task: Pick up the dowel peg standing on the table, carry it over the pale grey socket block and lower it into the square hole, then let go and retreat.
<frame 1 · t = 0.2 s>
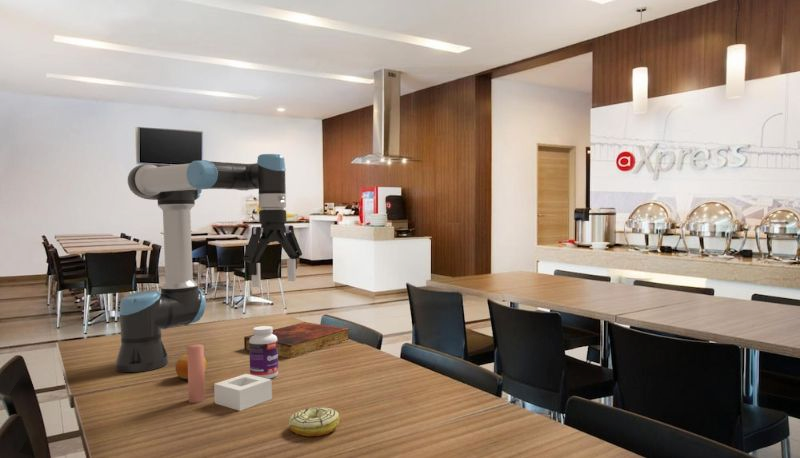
hand: (274, 283, 155), 28 cm above the table, fingers open, 13 cm apart
decorated donut: (314, 430, 120), on the table
fruit: (191, 378, 160), on the table
peg: (197, 400, 140), on the table
socket block: (243, 401, 139), on the table
pill bottle: (264, 377, 159), on the table
book: (298, 346, 198), on the table
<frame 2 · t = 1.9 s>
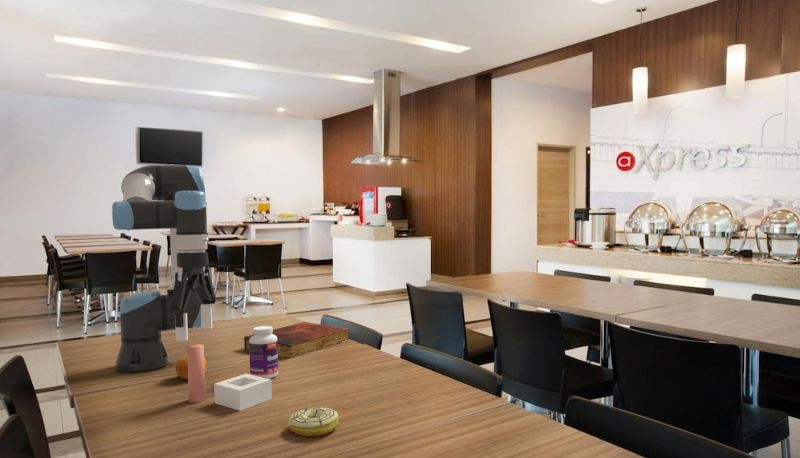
hand: (195, 334, 139), 17 cm above the table, fingers open, 13 cm apart
nothing on the table moved.
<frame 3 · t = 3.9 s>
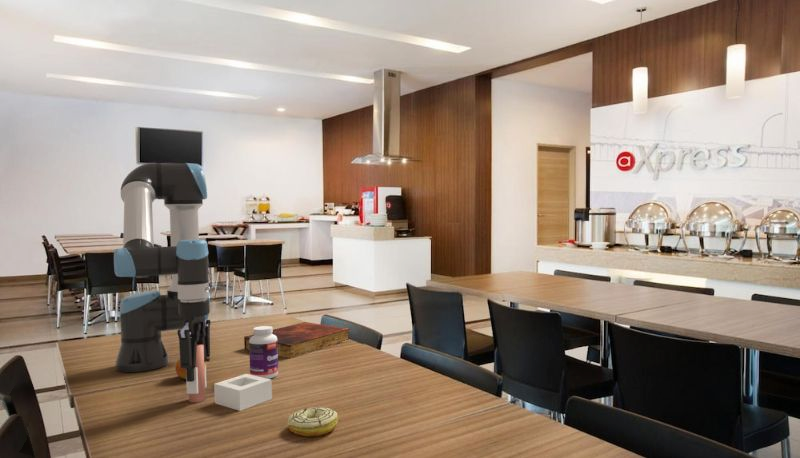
hand: (196, 390, 140), 3 cm above the table, fingers closed on peg, 4 cm apart
peg: (197, 399, 140), on the table, touching gripper
everything else where it was.
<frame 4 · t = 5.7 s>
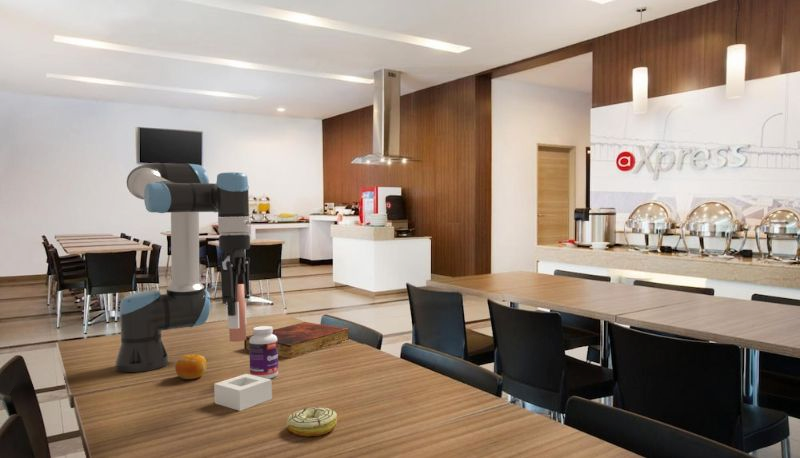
hand: (237, 326, 138), 19 cm above the table, fingers closed on peg, 4 cm apart
peg: (237, 339, 138), point 16 cm above the table, touching gripper
everything else where it was.
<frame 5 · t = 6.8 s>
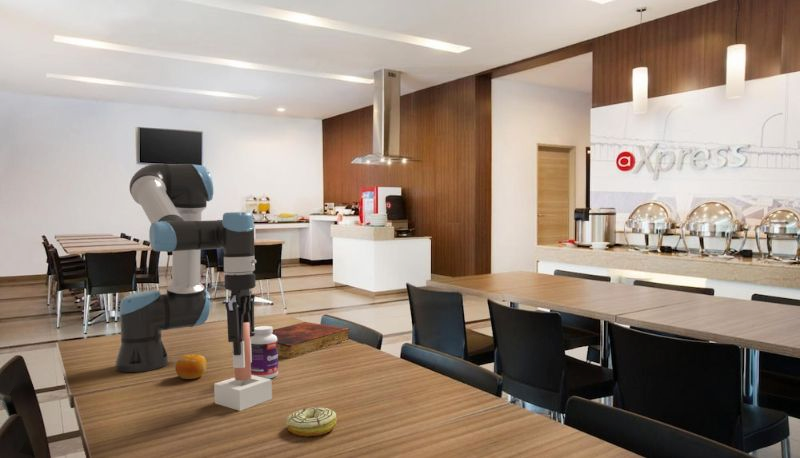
hand: (242, 364, 138), 9 cm above the table, fingers closed on peg, 4 cm apart
peg: (243, 378, 138), point 6 cm above the table, touching gripper
everything else where it was.
when the fingers open (7 cm above the table, at t = 7.5 s): peg drops 3 cm, resting in socket block.
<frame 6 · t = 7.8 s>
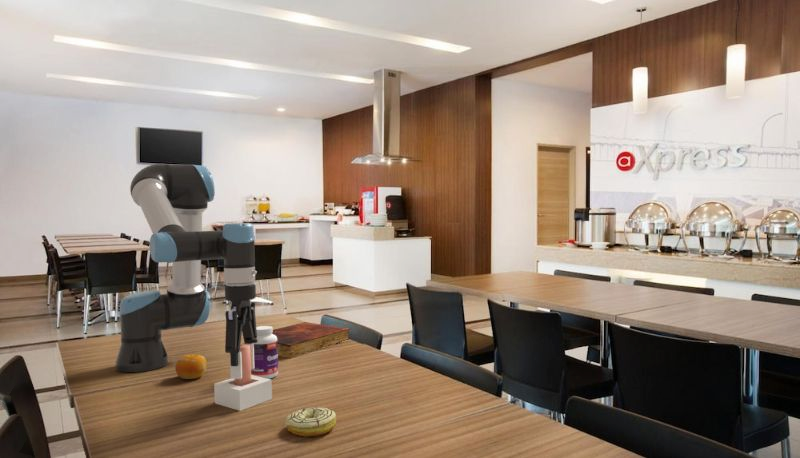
hand: (242, 373, 138), 7 cm above the table, fingers open, 8 cm apart
peg: (243, 401, 139), resting in socket block
everything else where it was.
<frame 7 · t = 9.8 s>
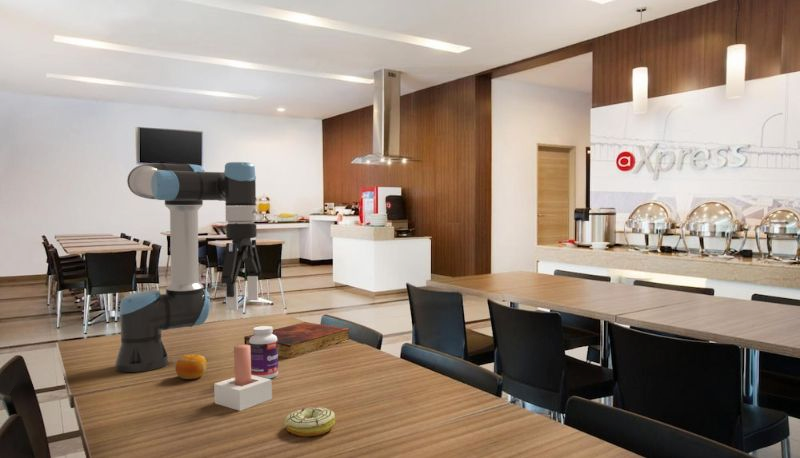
hand: (243, 304, 141), 24 cm above the table, fingers open, 13 cm apart
nothing on the table moved.
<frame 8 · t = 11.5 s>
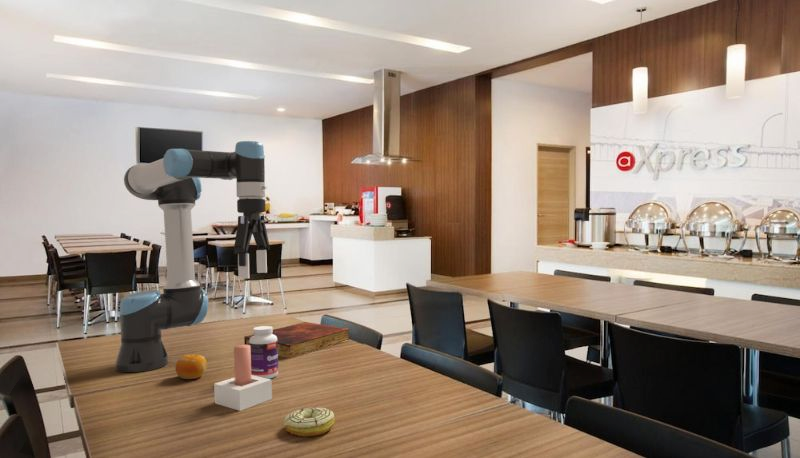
hand: (253, 275, 150), 31 cm above the table, fingers open, 13 cm apart
at the end: peg 0.1 cm off-centre on the socket block, point 0.0 cm above the socket block's base; peg tilted 0°; the gripper is holding nothing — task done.
